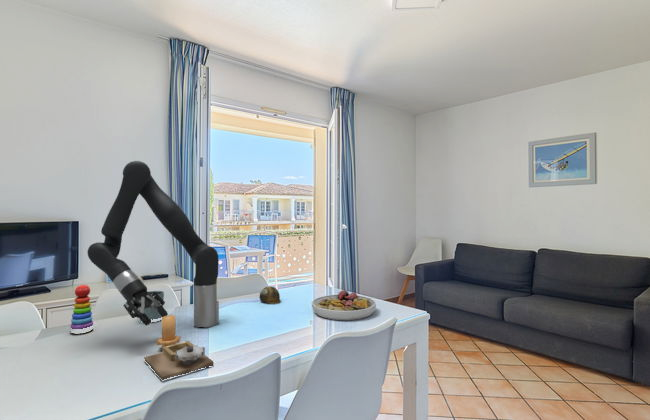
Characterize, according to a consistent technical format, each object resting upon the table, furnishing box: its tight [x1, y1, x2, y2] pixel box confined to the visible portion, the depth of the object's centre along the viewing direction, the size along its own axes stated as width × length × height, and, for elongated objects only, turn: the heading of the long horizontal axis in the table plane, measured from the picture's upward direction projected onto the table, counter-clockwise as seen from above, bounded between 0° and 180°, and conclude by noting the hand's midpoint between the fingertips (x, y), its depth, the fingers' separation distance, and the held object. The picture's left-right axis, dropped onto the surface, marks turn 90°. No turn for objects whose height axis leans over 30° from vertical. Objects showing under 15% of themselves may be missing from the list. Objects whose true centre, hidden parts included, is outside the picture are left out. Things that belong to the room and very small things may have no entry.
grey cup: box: [144, 290, 165, 320], centre depth 155 cm, size 10×10×12 cm
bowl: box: [311, 289, 377, 321], centre depth 167 cm, size 30×30×8 cm
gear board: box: [143, 340, 214, 380], centre depth 111 cm, size 15×18×6 cm
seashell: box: [259, 285, 281, 305], centre depth 185 cm, size 11×9×8 cm
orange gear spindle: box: [156, 314, 181, 348], centre depth 123 cm, size 8×8×11 cm
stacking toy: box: [70, 284, 94, 329], centre depth 141 cm, size 8×8×19 cm
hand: (157, 319), depth 124 cm, fingers open, 8 cm apart
